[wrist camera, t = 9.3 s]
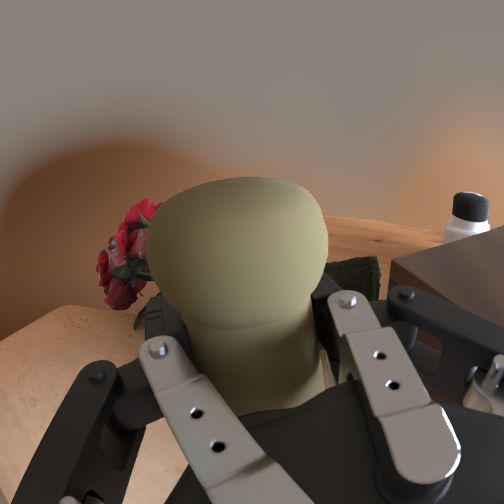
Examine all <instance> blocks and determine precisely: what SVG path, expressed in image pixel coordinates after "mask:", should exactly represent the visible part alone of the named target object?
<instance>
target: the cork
mask: <svg viewBox="0 0 504 504" xmlns="http://www.w3.org/2000/svg"><path fill="white" fill-rule="evenodd" d="M327 256H328V233H327V229H326V226H325V222H324V219H323V215H322V212H321V209H320V207H319V205H318V204H317V203H316V201H315V200H314V198H313V196H312V195H311V194H310V192H309V191H307V190H305V189H304V188H302V187H300V186H298V185H296V184H294V183H292V182H290V181H286V180H281V179H273V178H263V177H239V178H229V179H223V180H217V181H213V182H209V183H205V184H201V185H199V186H196V187H193V188H191V189H188V190H185V191H183V192H180V193H178V194H176V195H174V196H172V197H170V198H169V199H168V200H167V201H165V202H164V203H163V204H162V205H161V206H160V207H159V208H158V209H157V210H156V211H155V212H154V214H153V217H152V220H151V223H150V226H149V229H148V233H147V236H146V259H147V262H148V266H149V269H150V273H151V276H152V278H153V280H154V281H155V283H156V285H157V286H158V288H159V290H160V291H161V293H162V295H163V296H164V298H165V299H166V301H167V302H168V304H169V305H170V306H171V307H173V308H174V309H176V310H177V311H178V312H180V313H181V319H182V321H183V322H184V323H185V325H186V329H187V333H188V337H189V341H190V345H191V351H192V359H193V365H194V366H195V368H196V370H197V371H198V373H199V374H200V375H201V374H203V373H204V374H205V375H206V376H207V377H208V379H209V380H210V382H211V383H212V384H213V386H214V387H215V389H216V390H217V391H218V393H219V394H220V396H221V397H222V398H223V400H224V401H225V402H226V404H227V405H228V406H229V408H230V409H231V410H232V412H233V413H234V414H235V416H236V417H237V416H241V415H245V414H249V413H252V412H256V411H263V410H275V409H285V408H293V407H297V406H299V405H301V404H303V403H304V402H306V401H308V400H309V399H311V398H313V397H314V396H316V395H318V394H319V393H321V392H322V391H324V390H325V383H324V376H323V369H322V363H321V356H320V350H319V346H318V340H317V333H316V327H315V321H314V315H313V309H312V302H311V296H310V295H311V293H312V292H313V291H314V290H315V288H316V287H317V285H318V283H319V281H320V279H321V276H322V274H323V271H324V267H325V264H326V260H327Z"/></svg>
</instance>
